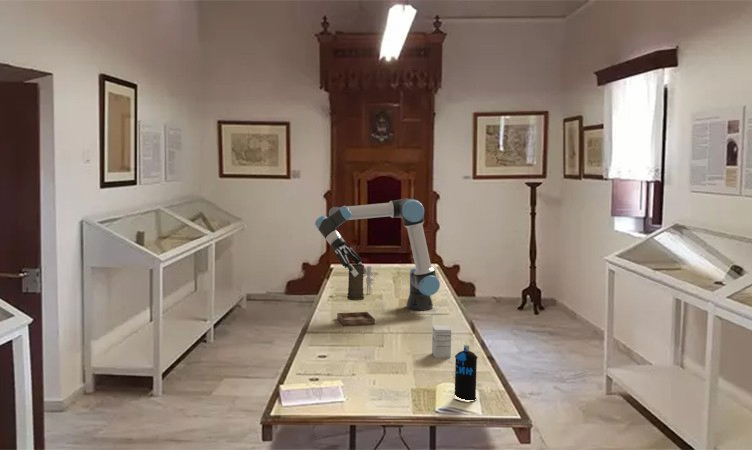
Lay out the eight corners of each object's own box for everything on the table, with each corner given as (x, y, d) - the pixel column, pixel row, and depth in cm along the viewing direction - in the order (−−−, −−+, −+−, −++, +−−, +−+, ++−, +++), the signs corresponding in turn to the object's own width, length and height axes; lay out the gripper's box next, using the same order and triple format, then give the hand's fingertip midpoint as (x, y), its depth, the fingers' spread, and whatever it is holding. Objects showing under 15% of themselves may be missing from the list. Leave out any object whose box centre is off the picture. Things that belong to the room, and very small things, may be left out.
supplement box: (431, 353, 324) (432, 325, 323) (447, 353, 325) (448, 325, 324) (434, 358, 317) (434, 329, 316) (450, 357, 318) (451, 329, 316)
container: (362, 301, 375) (362, 266, 373) (345, 300, 377) (346, 266, 375) (365, 297, 384) (366, 264, 382) (349, 296, 386) (349, 263, 384)
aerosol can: (460, 393, 271) (461, 341, 269) (480, 397, 267) (481, 344, 265) (449, 399, 265) (451, 346, 262) (469, 404, 260) (471, 349, 258)
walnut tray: (367, 317, 392) (367, 311, 392) (374, 324, 376) (374, 318, 376) (337, 318, 388) (337, 313, 388) (343, 325, 372) (343, 320, 372)
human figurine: (377, 293, 456) (378, 265, 454) (378, 295, 452) (379, 266, 450) (358, 294, 454) (359, 265, 452) (359, 295, 451) (359, 266, 449)
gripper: (342, 243, 395) (367, 275, 388) (320, 247, 376) (345, 281, 370) (351, 234, 391) (376, 266, 385) (328, 238, 373) (354, 272, 367)
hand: (361, 273), depth 377 cm, fingers closed on container, 8 cm apart
